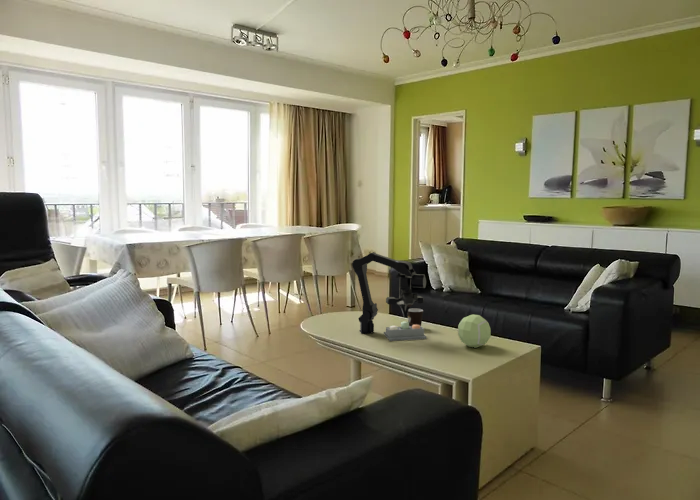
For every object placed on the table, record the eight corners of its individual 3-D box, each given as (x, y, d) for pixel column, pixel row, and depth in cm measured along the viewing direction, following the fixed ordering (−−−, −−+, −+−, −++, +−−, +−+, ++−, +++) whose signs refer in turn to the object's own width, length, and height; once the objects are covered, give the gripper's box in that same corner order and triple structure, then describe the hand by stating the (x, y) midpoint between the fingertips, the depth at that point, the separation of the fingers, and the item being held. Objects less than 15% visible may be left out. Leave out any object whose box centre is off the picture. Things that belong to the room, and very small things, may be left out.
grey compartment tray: (390, 340, 259) (390, 332, 258) (383, 334, 271) (383, 325, 271) (426, 339, 262) (426, 330, 262) (418, 332, 275) (418, 324, 274)
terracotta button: (413, 334, 265) (413, 326, 265) (411, 332, 269) (411, 324, 269) (421, 333, 266) (421, 326, 266) (418, 331, 270) (418, 324, 270)
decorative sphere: (452, 346, 248) (452, 315, 247) (467, 340, 260) (467, 310, 258) (480, 352, 239) (481, 320, 237) (495, 345, 250) (496, 315, 248)
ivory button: (390, 335, 263) (390, 327, 263) (388, 333, 267) (388, 325, 267) (398, 335, 264) (398, 327, 264) (396, 333, 268) (396, 325, 267)
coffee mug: (423, 330, 279) (424, 311, 278) (407, 330, 280) (407, 311, 279) (421, 325, 291) (421, 307, 290) (405, 324, 291) (405, 307, 290)
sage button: (402, 331, 264) (402, 323, 264) (400, 329, 268) (400, 321, 268) (409, 330, 265) (409, 323, 264) (407, 328, 269) (407, 321, 268)
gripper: (391, 290, 255) (391, 321, 256) (427, 288, 258) (427, 319, 260) (385, 286, 266) (385, 316, 267) (420, 285, 269) (420, 314, 270)
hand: (404, 316), depth 266 cm, fingers closed
